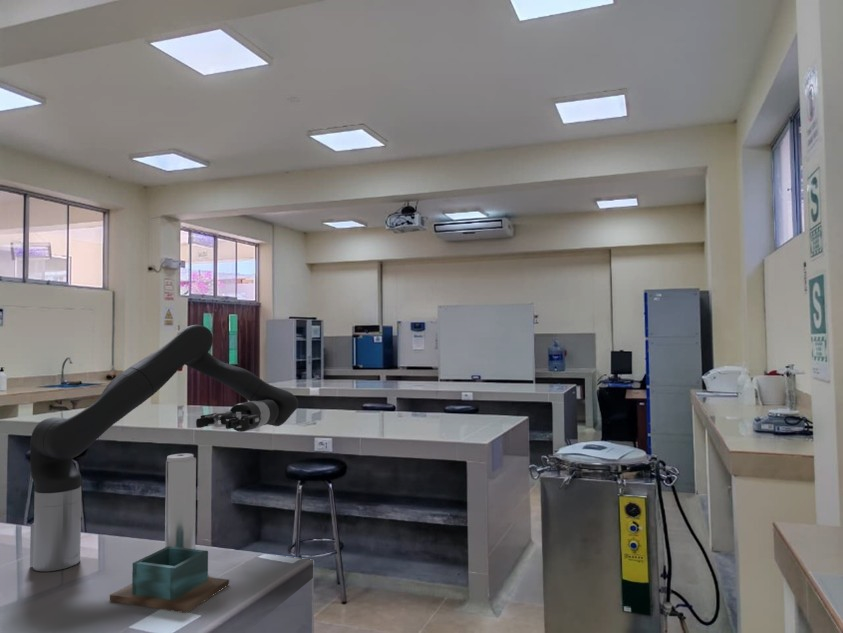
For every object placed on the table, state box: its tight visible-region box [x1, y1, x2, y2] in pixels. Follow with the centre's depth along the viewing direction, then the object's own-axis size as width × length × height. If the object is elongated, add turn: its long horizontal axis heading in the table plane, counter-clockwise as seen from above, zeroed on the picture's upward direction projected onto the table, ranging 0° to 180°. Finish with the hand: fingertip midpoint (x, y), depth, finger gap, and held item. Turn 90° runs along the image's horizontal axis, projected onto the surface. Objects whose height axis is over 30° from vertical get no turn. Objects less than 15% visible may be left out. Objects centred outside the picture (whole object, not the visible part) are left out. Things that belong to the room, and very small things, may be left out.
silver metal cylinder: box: [164, 452, 197, 549], centre depth 135 cm, size 6×6×25 cm
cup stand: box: [109, 546, 230, 613], centre depth 120 cm, size 18×13×7 cm
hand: (212, 424), depth 146 cm, fingers open, 8 cm apart
